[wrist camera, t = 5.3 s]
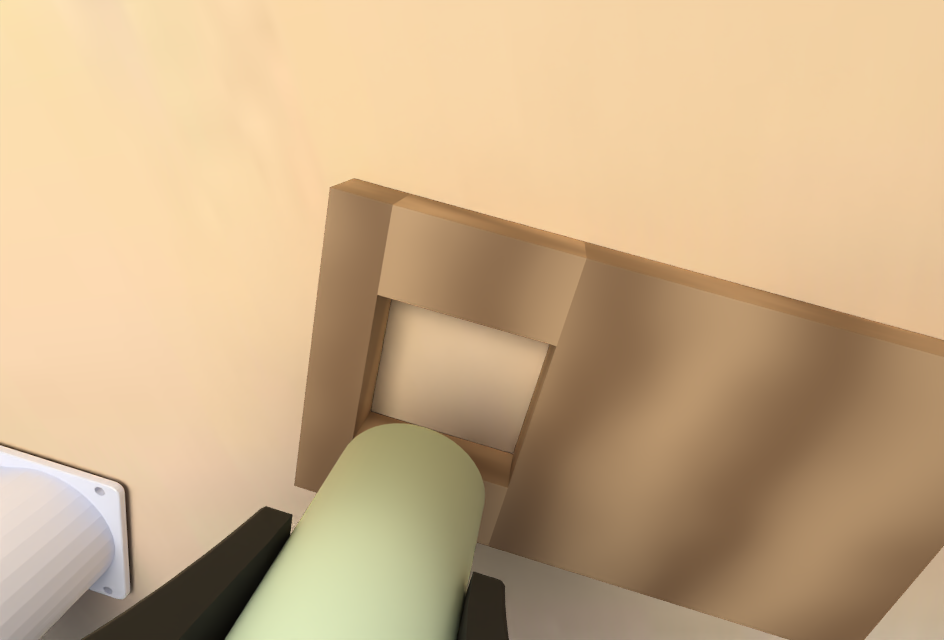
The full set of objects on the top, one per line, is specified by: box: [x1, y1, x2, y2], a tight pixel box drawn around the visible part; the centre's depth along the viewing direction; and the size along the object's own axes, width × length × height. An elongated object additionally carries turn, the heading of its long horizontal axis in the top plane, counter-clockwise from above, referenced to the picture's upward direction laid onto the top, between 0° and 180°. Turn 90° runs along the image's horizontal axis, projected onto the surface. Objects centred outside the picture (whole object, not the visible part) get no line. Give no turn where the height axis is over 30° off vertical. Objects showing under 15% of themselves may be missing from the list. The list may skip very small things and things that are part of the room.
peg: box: [225, 423, 485, 640], centre depth 10 cm, size 4×4×8 cm
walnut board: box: [294, 179, 944, 640], centre depth 19 cm, size 22×12×2 cm, turn 76°
